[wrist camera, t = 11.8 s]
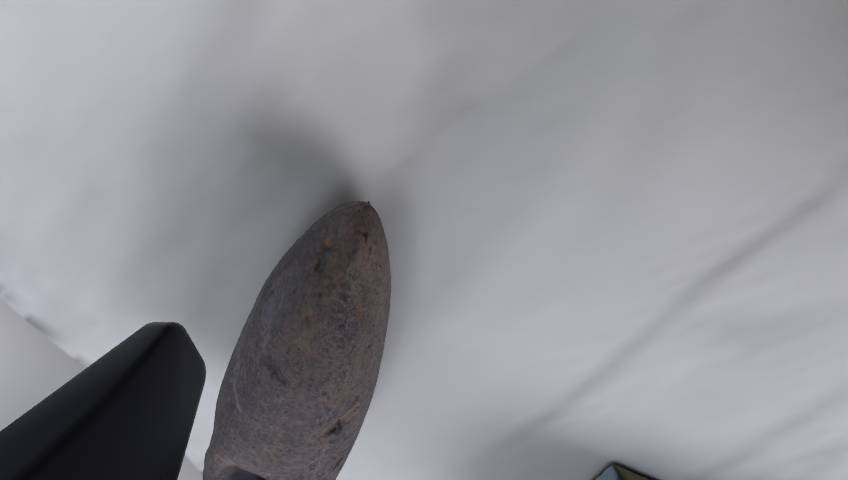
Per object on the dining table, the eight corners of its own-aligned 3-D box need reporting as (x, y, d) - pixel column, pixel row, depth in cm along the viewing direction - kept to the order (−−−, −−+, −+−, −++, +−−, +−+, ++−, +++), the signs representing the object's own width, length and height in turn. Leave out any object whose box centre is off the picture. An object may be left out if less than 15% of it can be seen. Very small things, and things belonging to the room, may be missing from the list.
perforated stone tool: (311, 132, 23) (221, 285, 17) (466, 195, 23) (422, 364, 18) (238, 386, 33) (168, 531, 28) (347, 427, 33) (297, 577, 28)
